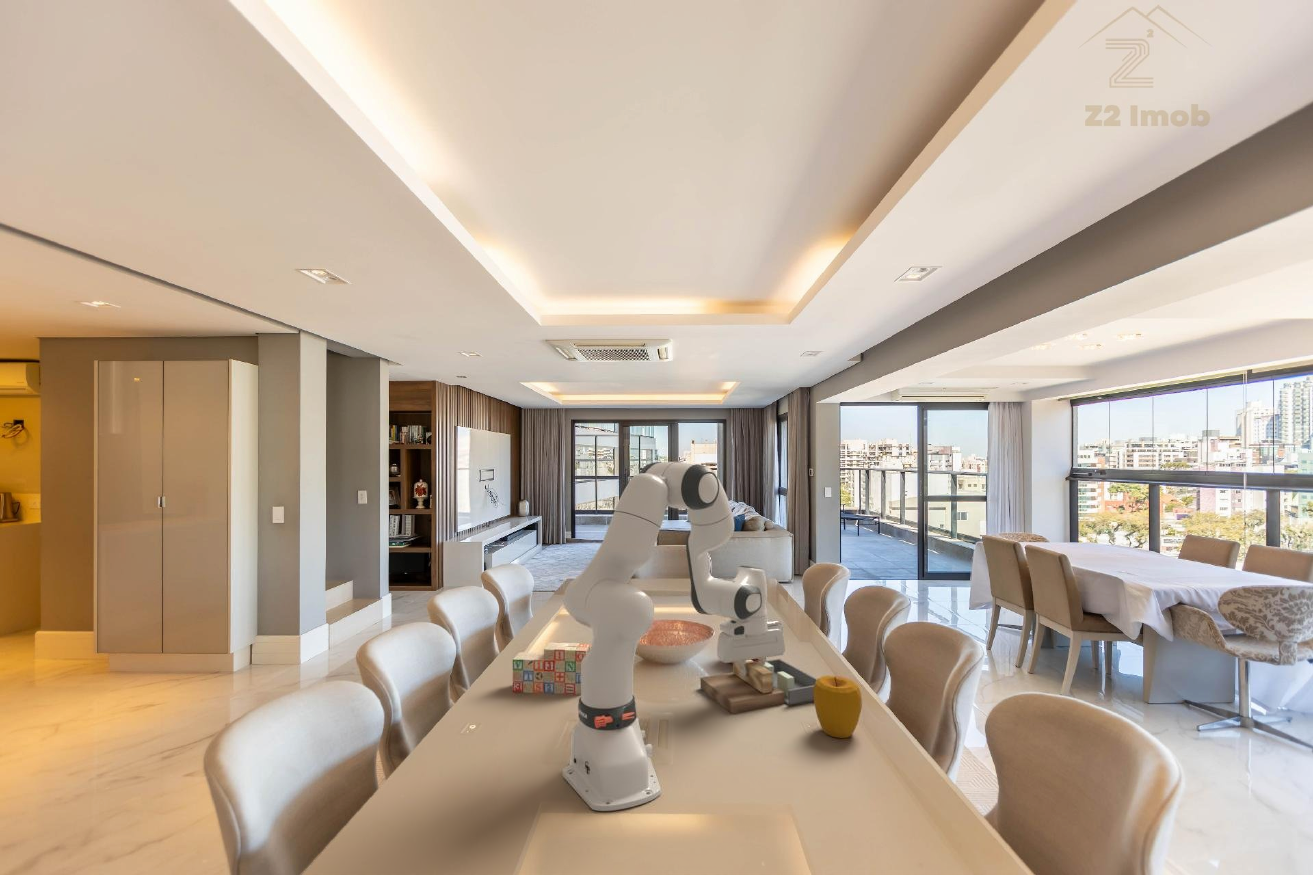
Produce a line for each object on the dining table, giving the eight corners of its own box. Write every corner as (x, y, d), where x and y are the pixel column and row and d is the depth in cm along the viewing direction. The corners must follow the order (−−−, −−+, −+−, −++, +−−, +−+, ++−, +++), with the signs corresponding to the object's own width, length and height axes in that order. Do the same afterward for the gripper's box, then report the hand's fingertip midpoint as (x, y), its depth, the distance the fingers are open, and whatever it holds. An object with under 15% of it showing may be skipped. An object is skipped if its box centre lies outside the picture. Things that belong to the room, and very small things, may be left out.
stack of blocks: (511, 692, 156) (512, 648, 157) (519, 684, 163) (519, 641, 163) (586, 694, 154) (586, 650, 155) (590, 686, 161) (590, 643, 161)
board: (784, 703, 148) (784, 691, 148) (732, 713, 142) (731, 701, 142) (748, 679, 164) (748, 669, 164) (700, 688, 158) (700, 677, 158)
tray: (826, 698, 150) (826, 683, 151) (789, 706, 146) (789, 690, 146) (779, 671, 171) (779, 658, 171) (746, 677, 166) (745, 663, 166)
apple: (860, 725, 135) (859, 671, 136) (864, 746, 124) (863, 688, 125) (813, 720, 138) (812, 667, 138) (814, 740, 127) (812, 683, 128)
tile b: (768, 684, 159) (774, 683, 160) (767, 667, 159) (773, 666, 160) (758, 678, 163) (764, 677, 164) (758, 661, 164) (764, 660, 165)
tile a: (788, 697, 150) (794, 696, 151) (787, 678, 150) (793, 677, 151) (777, 690, 155) (783, 689, 156) (777, 672, 155) (783, 671, 156)
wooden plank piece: (773, 691, 147) (773, 672, 148) (763, 693, 146) (762, 673, 147) (742, 671, 162) (742, 653, 163) (732, 672, 161) (732, 655, 161)
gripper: (776, 617, 162) (777, 666, 161) (714, 624, 154) (714, 675, 153) (789, 623, 156) (789, 673, 155) (725, 630, 149) (725, 683, 148)
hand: (751, 674), depth 154 cm, fingers closed on wooden plank piece, 3 cm apart
